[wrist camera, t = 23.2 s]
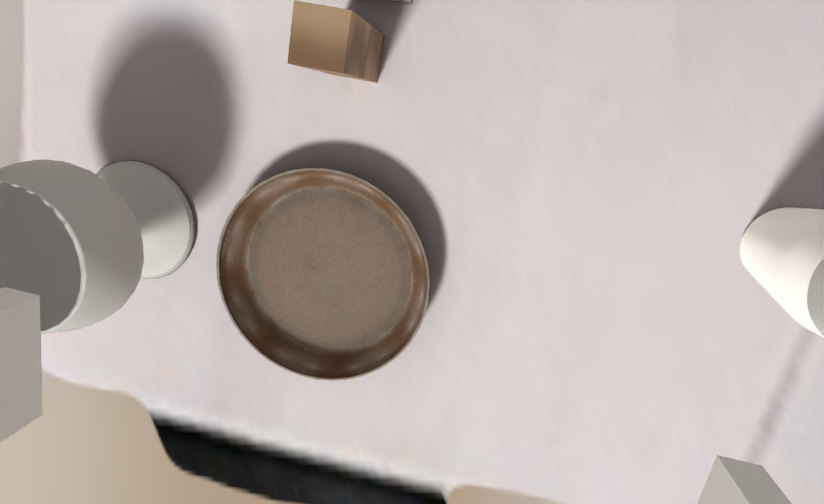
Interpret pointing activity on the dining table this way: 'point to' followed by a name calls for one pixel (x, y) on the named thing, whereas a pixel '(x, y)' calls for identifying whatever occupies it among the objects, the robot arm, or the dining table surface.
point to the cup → (789, 261)
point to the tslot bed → (404, 0)
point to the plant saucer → (323, 274)
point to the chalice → (88, 236)
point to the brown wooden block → (334, 42)
